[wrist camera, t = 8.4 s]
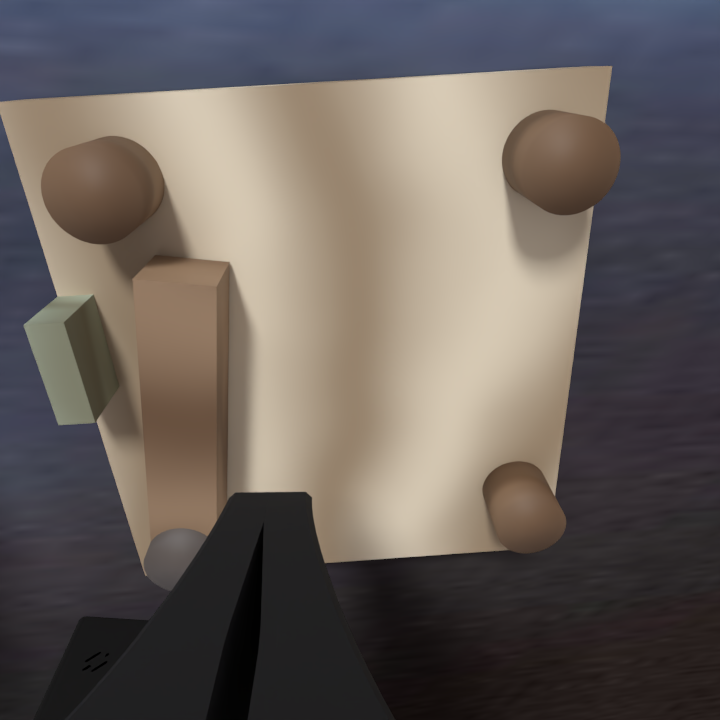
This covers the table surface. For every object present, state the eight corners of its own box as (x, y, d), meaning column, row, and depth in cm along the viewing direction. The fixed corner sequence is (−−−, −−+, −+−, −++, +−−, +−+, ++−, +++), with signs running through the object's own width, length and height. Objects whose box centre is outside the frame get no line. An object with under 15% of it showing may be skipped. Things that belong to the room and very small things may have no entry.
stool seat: (156, 545, 22) (127, 622, 19) (26, 99, 15) (-53, 107, 12) (534, 518, 23) (567, 590, 20) (587, 66, 15) (653, 65, 12)
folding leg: (229, 536, 20) (216, 593, 18) (166, 532, 20) (145, 590, 18) (233, 262, 16) (217, 294, 14) (151, 254, 16) (121, 285, 13)
